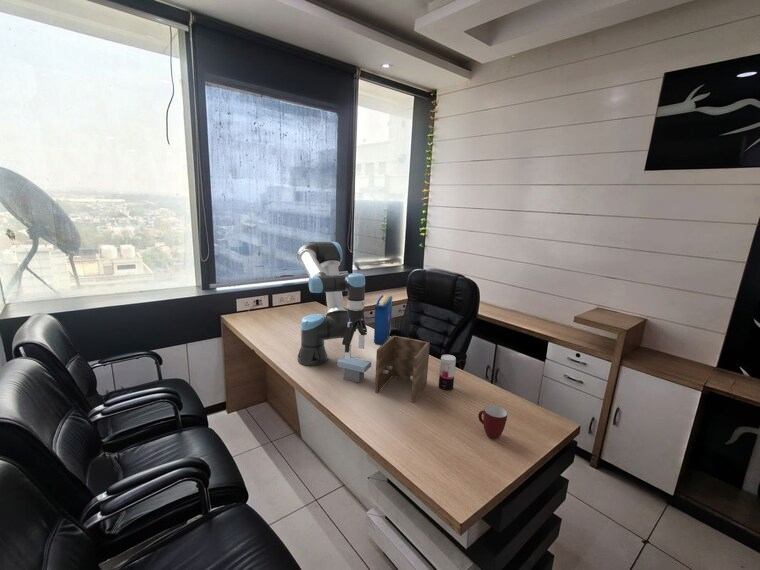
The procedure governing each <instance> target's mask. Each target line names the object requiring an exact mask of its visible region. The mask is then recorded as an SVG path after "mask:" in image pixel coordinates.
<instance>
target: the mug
mask: <svg viewBox="0 0 760 570" xmlns="http://www.w3.org/2000/svg"><path fill="white" fill-rule="evenodd" d="M477 416H478V421H479V422H480V423H481V424H482V425H483V429H484V432H485V435H486V436H487V437H488V438H489V439H492V440H497V439H499V438H500V436H502V434H503V431H504V429H505V426H506V423H507V420H508V412H507V410H506V409H505V408H504V407H501V406H500V405H496V404H495V405H494V404H488V405H485V406H484V407H483V410H480V411H479V413H478V415H477Z"/></svg>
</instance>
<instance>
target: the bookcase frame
mask: <svg viewBox="0 0 760 570" xmlns="http://www.w3.org/2000/svg"><path fill="white" fill-rule="evenodd" d="M430 344H431V343H430V342H429V341H423V340H420V339H415V338H409V337H404V336H398V335H391V336H390V338H388V339H387V340H386V341H385V343H384V344H381V345H380V346H379V347H378V348H377V349H376V359H375V360H376V361H375V378H374V379H375V380H374V381H375V382H374V393H375V394H379V392H380V391H381V390H382V389H383V388H384V386H385V385H386V384H387V383H388V382H389V381H390V380H391V379H392V377H394V378H398V379H403V380H408V381H412V387H411V399H410V400H411V403H413V404H414V403H415V402H416V401H417V399H418V397H419V396H420V395H421V393H422V391H423V390H424V388H425V387H426V385H427V382H428V369H429V359H430V358H429V356H430Z"/></svg>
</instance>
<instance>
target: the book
mask: <svg viewBox="0 0 760 570" xmlns="http://www.w3.org/2000/svg"><path fill="white" fill-rule="evenodd" d="M374 305H375V306H374V334H373V337H374V338H373V343H375V344H377V345H383V344H384V343H385V342H386V341H387V340H388V339H389V336H390V334H391V333H392V332H391V329H392V314H393V313H392V312H393V311H392V310H393V296H392V295H390V296H389V295H383V294H382V295H381V296H380V297H379V298H378V299H377V301H376V304H374Z"/></svg>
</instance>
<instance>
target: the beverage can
mask: <svg viewBox="0 0 760 570" xmlns="http://www.w3.org/2000/svg"><path fill="white" fill-rule="evenodd" d="M456 362H457V359H456V357H455V356H454V355H452V354H442V355H441V357H440V365H439V378H438V388H439V390H441V391H443V392H452V391H453V390H454V384H455V383H454V382H455V372H456Z"/></svg>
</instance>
